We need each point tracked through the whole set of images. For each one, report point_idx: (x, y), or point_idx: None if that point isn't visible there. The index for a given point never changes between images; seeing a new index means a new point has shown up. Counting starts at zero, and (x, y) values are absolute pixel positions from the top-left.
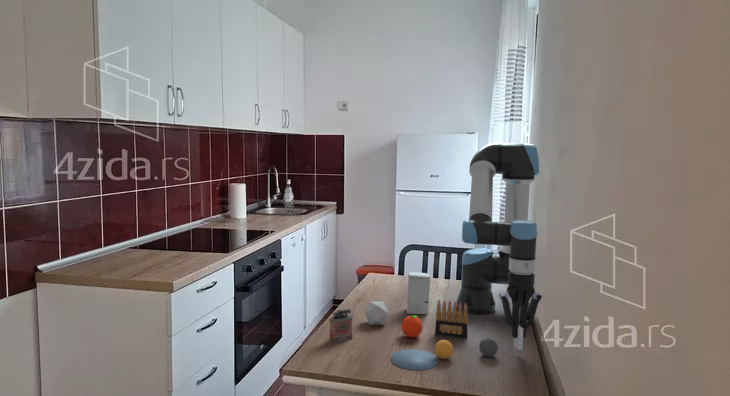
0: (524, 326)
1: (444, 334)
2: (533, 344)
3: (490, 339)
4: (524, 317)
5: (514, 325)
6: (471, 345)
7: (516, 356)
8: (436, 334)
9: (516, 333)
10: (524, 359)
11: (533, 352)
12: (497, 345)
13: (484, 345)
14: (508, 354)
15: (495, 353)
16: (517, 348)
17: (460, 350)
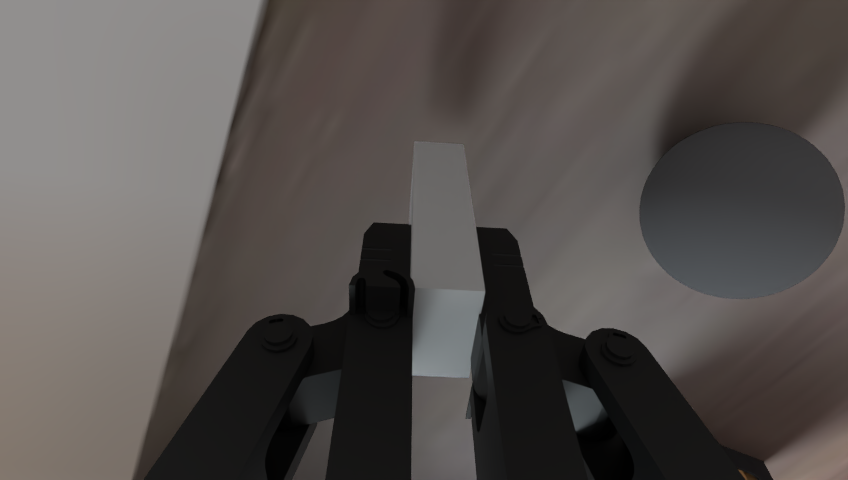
0: (398, 304)
1: (729, 455)
2: (210, 286)
3: (783, 245)
4: (388, 446)
5: (545, 343)
6: (671, 333)
7: (464, 118)
8: (759, 462)
9: (488, 262)
10: (427, 45)
11: (270, 164)
12: (687, 190)
13: (843, 195)
14: (509, 166)
15: (699, 132)
16: (462, 154)
17: (812, 282)
